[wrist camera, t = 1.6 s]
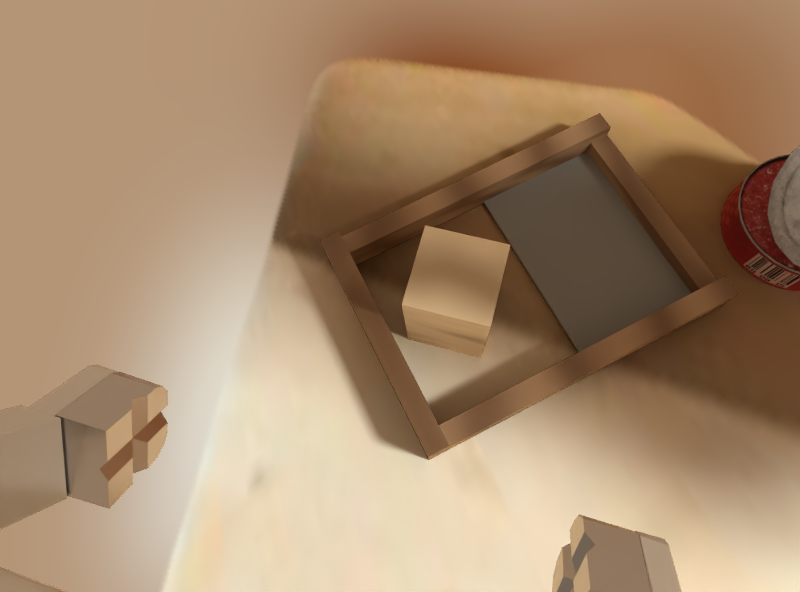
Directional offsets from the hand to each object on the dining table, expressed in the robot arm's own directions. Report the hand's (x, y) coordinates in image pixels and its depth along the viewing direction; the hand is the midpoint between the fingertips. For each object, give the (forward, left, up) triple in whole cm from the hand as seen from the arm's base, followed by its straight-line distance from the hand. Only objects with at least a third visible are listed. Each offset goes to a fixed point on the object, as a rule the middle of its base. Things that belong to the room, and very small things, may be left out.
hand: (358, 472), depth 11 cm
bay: (-14, -10, -29) cm, 34 cm away
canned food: (-34, -4, -30) cm, 45 cm away
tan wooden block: (-8, -10, -29) cm, 32 cm away
